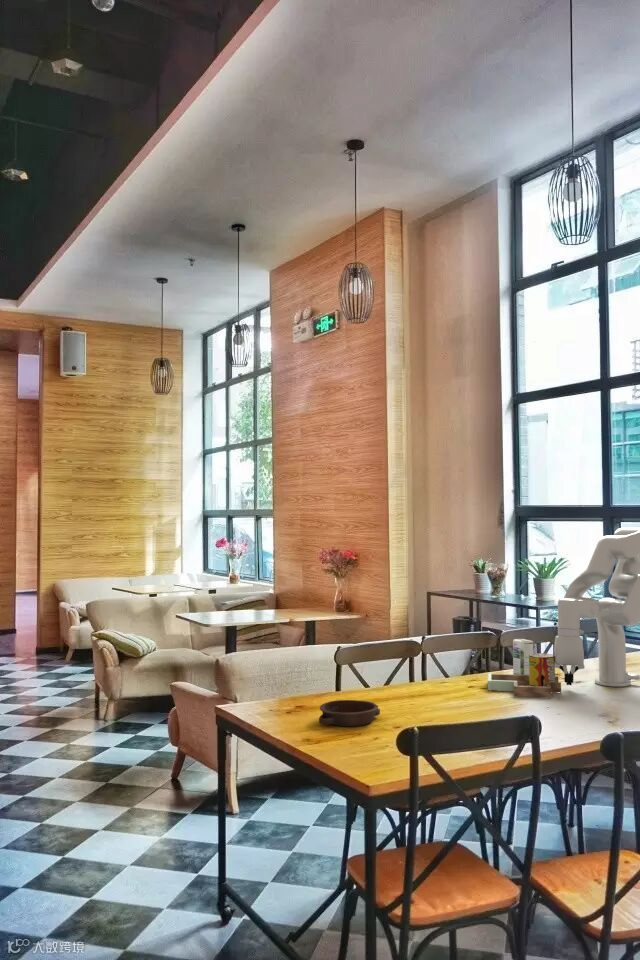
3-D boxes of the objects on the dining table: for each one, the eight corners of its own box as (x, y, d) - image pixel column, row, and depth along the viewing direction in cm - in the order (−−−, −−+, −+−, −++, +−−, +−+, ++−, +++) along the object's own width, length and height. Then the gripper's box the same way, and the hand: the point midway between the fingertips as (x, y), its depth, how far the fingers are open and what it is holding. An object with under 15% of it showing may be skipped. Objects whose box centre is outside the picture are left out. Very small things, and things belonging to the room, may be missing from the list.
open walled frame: (558, 685, 293) (558, 676, 293) (563, 698, 272) (562, 688, 272) (491, 683, 298) (491, 673, 298) (491, 695, 277) (491, 685, 277)
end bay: (516, 683, 297) (516, 674, 297) (517, 691, 283) (517, 681, 283) (488, 682, 299) (488, 673, 299) (487, 690, 285) (487, 680, 285)
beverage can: (529, 690, 285) (528, 656, 285) (530, 685, 293) (529, 652, 294) (555, 692, 282) (554, 657, 283) (555, 687, 291) (554, 653, 291)
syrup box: (512, 676, 310) (511, 639, 311) (524, 675, 312) (524, 638, 313) (522, 679, 305) (521, 641, 306) (534, 678, 307) (533, 640, 308)
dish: (303, 722, 243) (302, 705, 243) (359, 711, 256) (359, 695, 256) (337, 734, 229) (337, 716, 229) (395, 722, 242) (395, 705, 242)
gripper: (589, 632, 289) (589, 684, 288) (546, 630, 292) (546, 681, 291) (591, 635, 281) (592, 687, 280) (547, 633, 285) (547, 685, 283)
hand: (568, 684), depth 285 cm, fingers closed
